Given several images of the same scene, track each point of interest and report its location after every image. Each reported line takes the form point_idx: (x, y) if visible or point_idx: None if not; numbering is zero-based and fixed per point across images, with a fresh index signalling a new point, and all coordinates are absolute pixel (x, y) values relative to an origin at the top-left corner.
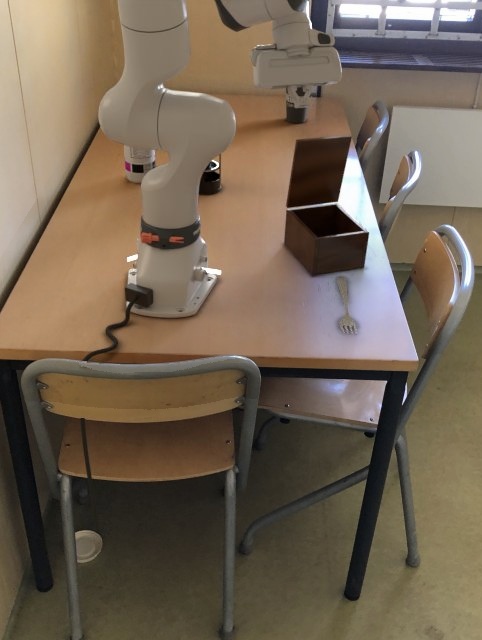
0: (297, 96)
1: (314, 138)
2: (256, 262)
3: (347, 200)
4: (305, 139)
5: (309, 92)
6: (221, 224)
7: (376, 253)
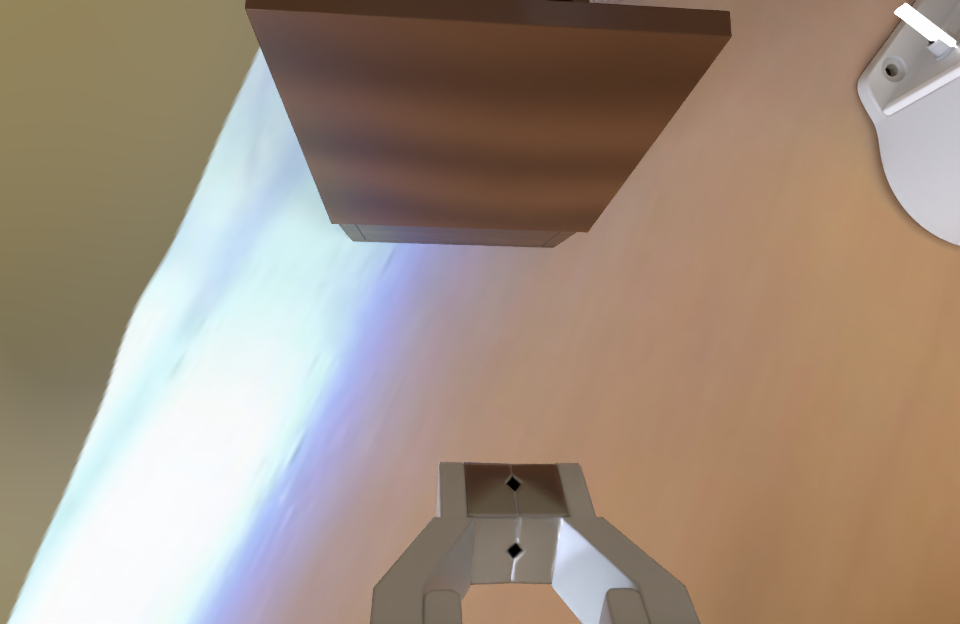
0: (590, 532)
1: (579, 19)
2: (694, 156)
3: (121, 543)
4: (657, 21)
5: (426, 554)
6: (712, 470)
7: (257, 75)
